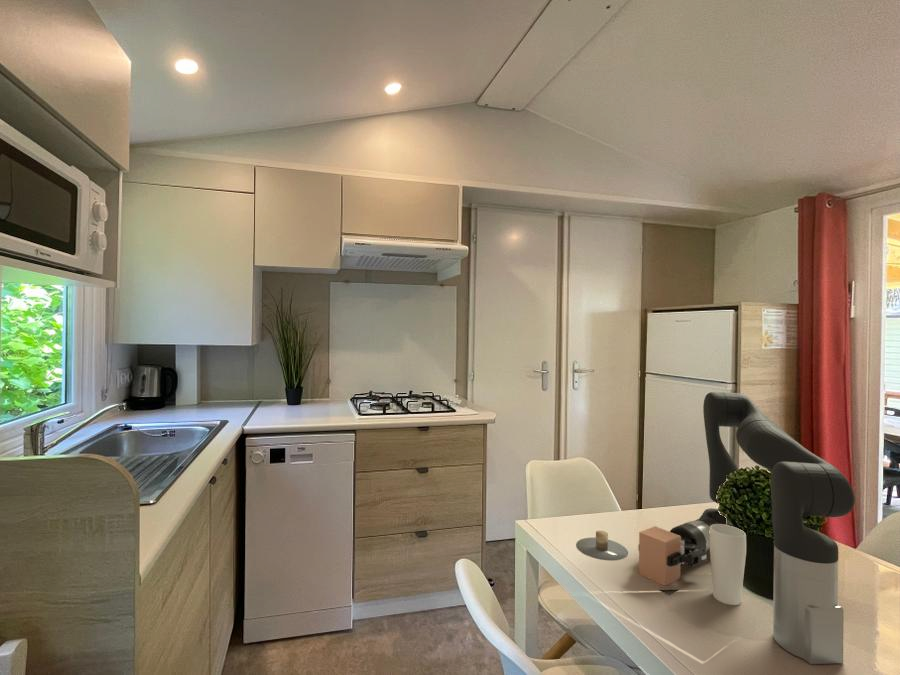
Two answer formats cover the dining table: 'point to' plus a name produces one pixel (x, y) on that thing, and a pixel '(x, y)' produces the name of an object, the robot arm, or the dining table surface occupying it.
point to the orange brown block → (658, 554)
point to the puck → (602, 540)
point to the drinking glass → (727, 562)
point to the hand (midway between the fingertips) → (654, 555)
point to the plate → (612, 553)
